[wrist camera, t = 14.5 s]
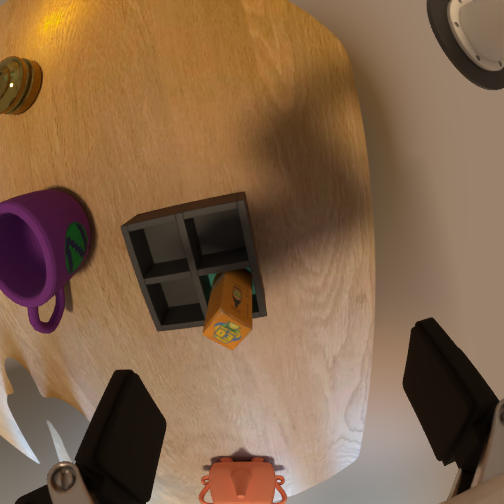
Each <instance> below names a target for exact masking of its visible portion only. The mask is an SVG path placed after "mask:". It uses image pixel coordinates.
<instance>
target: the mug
mask: <svg viewBox="0 0 504 504" xmlns="http://www.w3.org/2000/svg"><path fill="white" fill-rule="evenodd" d="M90 239H91V232H90V225H89V221H88V219H87V216H86V213H85V211H84V210H83V208H82V207H81V205H80V204H79V203H78V202H77V201H76V200H75V199H74V198H73V197H72V196H70V195H68V194H67V193H65V192H63V191H59V190H42V191H35V192H31V193H27V194H24V195H20V196H17V197H14V198H11V199H8V200H6V201H3V202H1V203H0V289H1V291H2V292H3V293H4V294H5V295H6V296H7V297H8V298H10V299H11V300H12V301H13V302H15V303H17V304H19V305H21V306H24V307H28V316H29V321H30V324H31V325H32V326H33V328H34V329H35V330H36V331H38V332H41V333H51V332H53V331H55V329H56V328H57V326H58V324H59V322H60V320H61V318H62V315H63V312H64V308H65V293H64V287H63V286H64V285H65V284H66V283H67V282H68V281H69V280H70V279H71V277H72V276H73V275H74V274H75V273H76V272H77V270H78V269H79V268H80V266H81V265H82V263H83V262H84V260H85V259H86V257H87V254H88V251H89V248H90ZM54 295H55V296H56V305H55V308H54V312H53V314H52V316H51V318H50V320H49V322H42V321H40V319H39V314H38V306H41V305H43V304H44V303H46V302H47V301H48V300H50V299H51V298H52V297H53V296H54Z"/></svg>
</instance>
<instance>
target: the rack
mask: <svg viewBox="0 0 504 504" xmlns="http://www.w3.org/2000/svg"><path fill="white" fill-rule="evenodd" d="M121 230H122V234H123V237H124V240H125V243H126V246H127V250H128V253H129V256H130V259H131V262H132V265H133V268H134V271H135V274H136V277H137V279H138V282H139V285H140V288H141V291H142V293H143V296H144V299H145V301H146V304H147V307H148V309H149V312H150V314H151V317H152V319H153V322H154V324H155V327H156V329H157V331H167V330H175V329H183V328H191V327H199V326H204V323H205V319H206V314H207V309H208V304H209V299H210V293H211V289H212V284H213V280H214V278H215V277H216V275H217V274H218V273H220V272H226V271H232V270H237V269H243V268H244V269H245V270H247V271H248V272H250V273H251V274H252V318H258V317H264V316H267V311H266V303H265V294H264V289H263V284H262V278H261V273H260V268H259V263H258V258H257V252H256V247H255V242H254V237H253V232H252V227H251V221H250V216H249V211H248V206H247V201H246V196H245V192H239V193H233V194H228V195H223V196H218V197H213V198H209V199H204V200H199V201H194V202H190V203H185V204H181V205H176V206H172V207H168V208H163V209H159V210H155V211H151V212H146V213H142V214H138V215H136V216H135V217H133V218H132V219H131V220H129V221H128V222H126V223H125V224H124V225H122V226H121Z"/></svg>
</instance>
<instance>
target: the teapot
mask: <svg viewBox="0 0 504 504" xmlns="http://www.w3.org/2000/svg"><path fill="white" fill-rule="evenodd" d="M220 460H221V462H218V463H214V464H213V465H212V467H211V469H210V471H209V476H203V477H202V479H201V482H202V484H204V485H206V486H205V487H204V488H203V490H202V491H201V493H200V495H199V501H200V502H201V503H202V504H284V503H285V502H286V500H287V495H286V493H285V491H284V490H283V489H282V487H281V486H280V485H282V484H283V483H284V481H285V479H284V477H282V476H280V475H276V476H275V471H274V469H273V467H272V465H271V463H267V462H263V461H264V459H263V458H261V457H255V458H252V459H251V462H233V459H231V458H228V457H224V458H221V459H220ZM205 480H209V482H205ZM277 480H281V482H279V483H278V482H277ZM275 487H276V489H277V490H278V491H279V492H280V494H281V496H282V501H281V502H279V503H272V502H273V498H274V493H275ZM209 488H210V491H211V496H212V500H213V503H207V502H205V501H204V500H203V498H204V495H205V494H206V492H207V491H208V490H209Z"/></svg>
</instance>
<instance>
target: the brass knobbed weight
mask: <svg viewBox="0 0 504 504" xmlns="http://www.w3.org/2000/svg"><path fill="white" fill-rule="evenodd" d="M40 85H41V70H40V67H39V65H38V64H37V63H36V62H34V61H30V60H27V59H24V58H22V59H21V58H19V57H16V56H11V57H8V58H5V59H4V60H2V61H1V62H0V114H3V113H4V114H18V113H21V112H23V111H25V110H26V109H27V108H28V107H29V106H30V105H31V104H32V103H33V101H34V100H35V98H36V96H37V94H38V92H39V89H40Z"/></svg>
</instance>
